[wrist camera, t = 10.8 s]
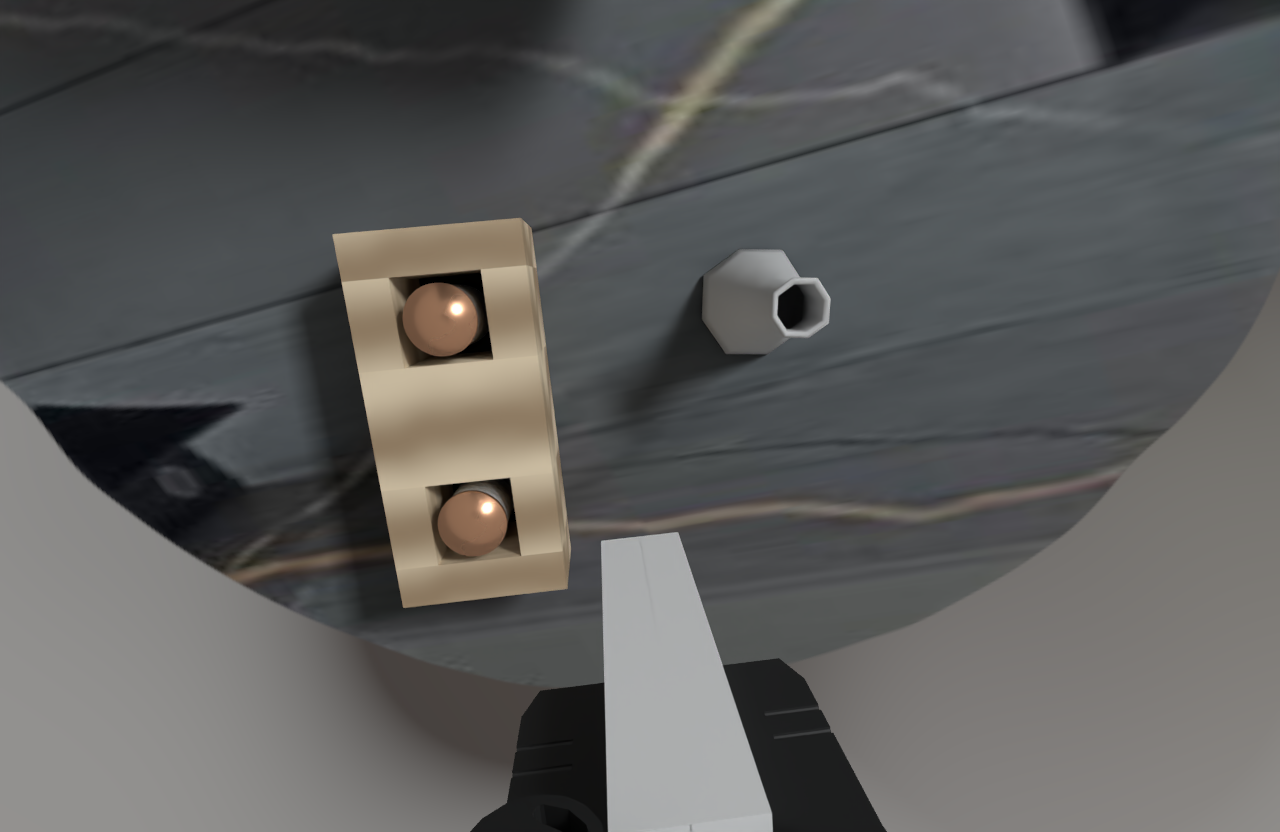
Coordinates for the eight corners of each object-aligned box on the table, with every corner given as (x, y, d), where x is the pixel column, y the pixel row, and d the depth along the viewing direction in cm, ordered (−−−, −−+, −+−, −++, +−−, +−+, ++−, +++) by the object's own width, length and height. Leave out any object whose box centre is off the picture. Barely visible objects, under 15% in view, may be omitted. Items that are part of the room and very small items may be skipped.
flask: (715, 370, 42) (752, 395, 33) (686, 266, 41) (714, 260, 31) (816, 337, 42) (883, 353, 33) (790, 232, 41) (852, 215, 31)
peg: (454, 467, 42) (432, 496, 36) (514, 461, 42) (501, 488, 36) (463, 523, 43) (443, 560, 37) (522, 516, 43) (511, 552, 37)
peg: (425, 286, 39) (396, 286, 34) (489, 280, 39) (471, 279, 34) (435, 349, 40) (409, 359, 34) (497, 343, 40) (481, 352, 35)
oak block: (371, 241, 39) (332, 234, 33) (531, 227, 40) (520, 218, 34) (428, 564, 44) (403, 608, 38) (570, 548, 44) (567, 588, 38)
